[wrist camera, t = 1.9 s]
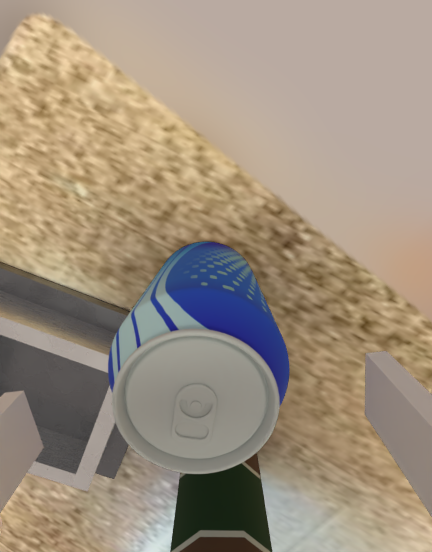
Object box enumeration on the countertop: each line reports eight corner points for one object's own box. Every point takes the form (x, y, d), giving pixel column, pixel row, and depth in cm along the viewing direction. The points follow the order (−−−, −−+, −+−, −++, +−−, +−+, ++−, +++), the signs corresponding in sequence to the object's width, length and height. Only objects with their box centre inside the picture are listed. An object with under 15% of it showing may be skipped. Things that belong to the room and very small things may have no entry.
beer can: (140, 282, 27) (42, 401, 12) (210, 218, 26) (201, 259, 10) (204, 345, 29) (191, 522, 13) (273, 289, 27) (347, 415, 12)
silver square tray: (117, 470, 33) (101, 513, 28) (-53, 416, 31) (-97, 452, 27) (176, 329, 28) (169, 354, 24) (-18, 255, 27) (-63, 268, 22)
